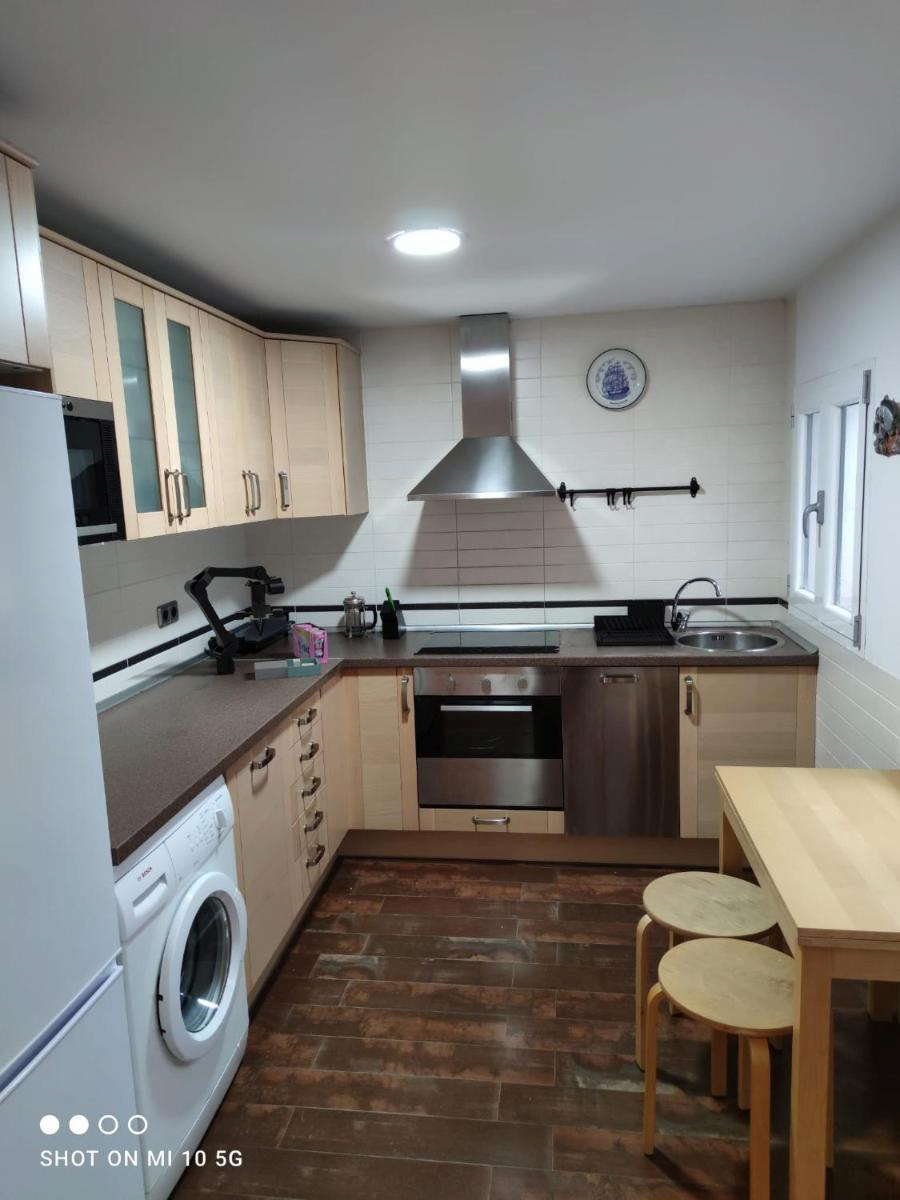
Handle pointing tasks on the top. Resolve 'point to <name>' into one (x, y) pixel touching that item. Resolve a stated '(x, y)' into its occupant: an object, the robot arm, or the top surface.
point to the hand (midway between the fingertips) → (260, 635)
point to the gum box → (310, 642)
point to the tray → (304, 668)
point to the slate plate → (271, 670)
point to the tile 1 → (296, 662)
